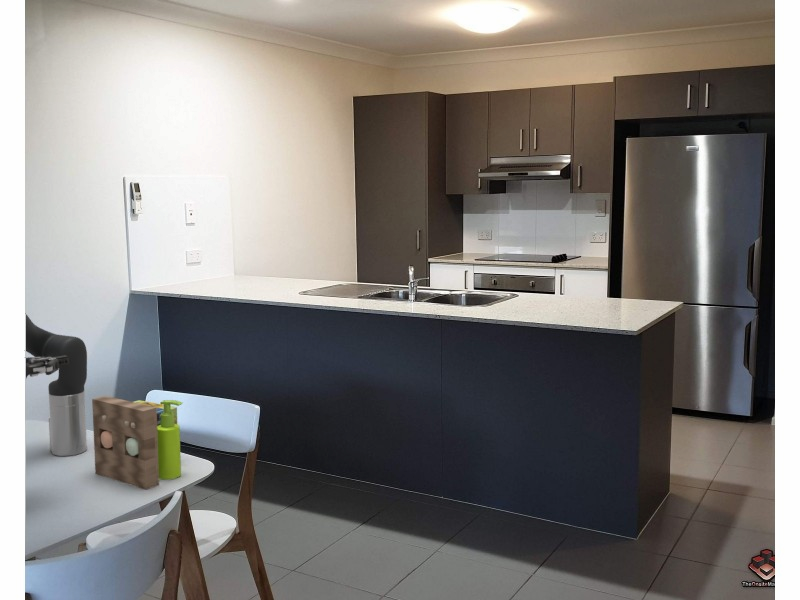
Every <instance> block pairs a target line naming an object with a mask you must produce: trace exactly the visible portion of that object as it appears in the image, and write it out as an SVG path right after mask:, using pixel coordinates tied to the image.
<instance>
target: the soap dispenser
mask: <svg viewBox="0 0 800 600" xmlns="http://www.w3.org/2000/svg"><path fill="white" fill-rule="evenodd" d="M159 404H162V405H164V412H163V413H161V425H159V426H157V438H158V468H159V480H164V481H165V480H174V478H175V479H177V477H178V478H180V477H181V476H182V467H181V466H182V464H181V463H182V462H181V433H180V432H181V431H180V429H181V428H180V425H179V424H178V423H177V424H175V423H174V413H173V412H171V406H172V405H173V406H176V407H179V406H181V405H183V401H179V400H173V399H165V400H162V401H160V403H159ZM180 475H181V476H180ZM179 476H180V477H179Z"/></svg>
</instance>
